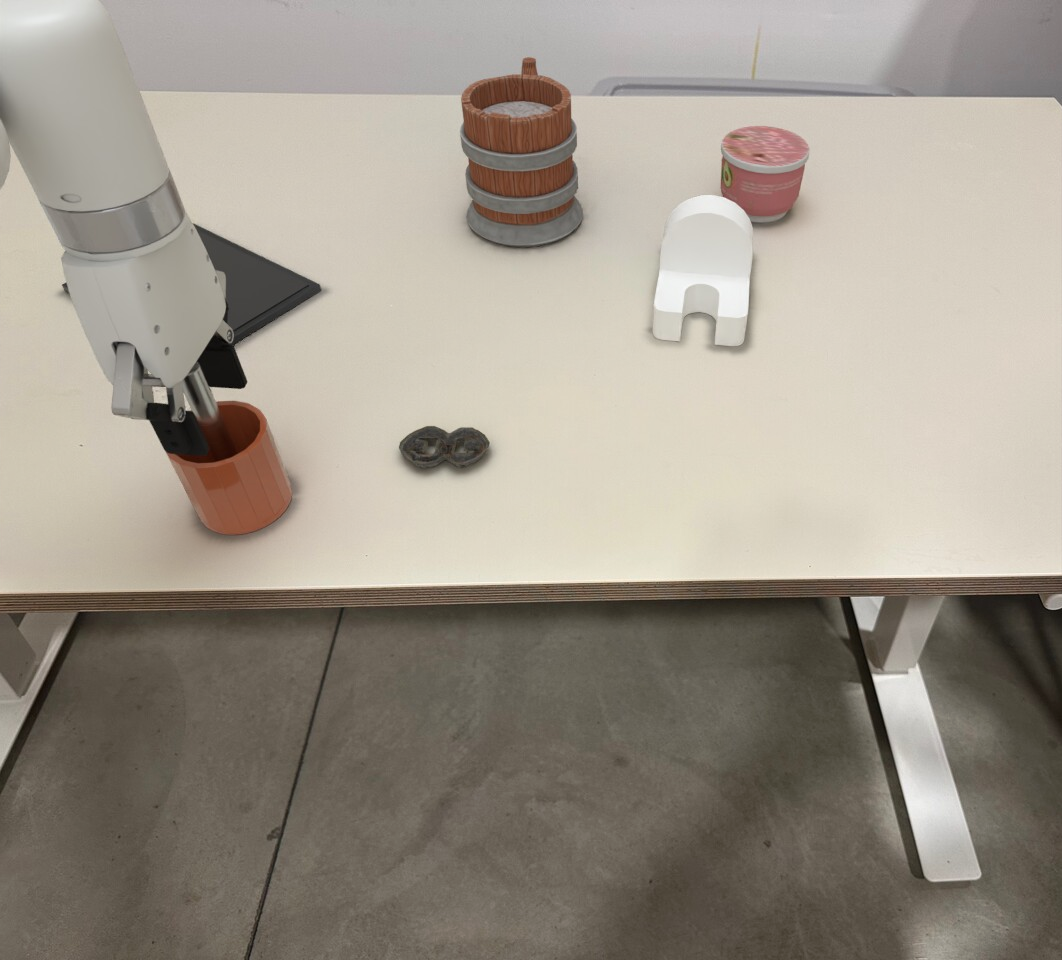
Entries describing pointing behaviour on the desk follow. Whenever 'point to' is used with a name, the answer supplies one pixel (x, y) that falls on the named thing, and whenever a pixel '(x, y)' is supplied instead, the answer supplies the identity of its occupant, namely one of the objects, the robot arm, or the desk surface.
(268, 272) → the tablet
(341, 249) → the desk surface
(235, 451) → the stylus
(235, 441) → the holder
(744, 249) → the u-slot stand
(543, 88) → the mug
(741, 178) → the container
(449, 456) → the corroded twin loop
